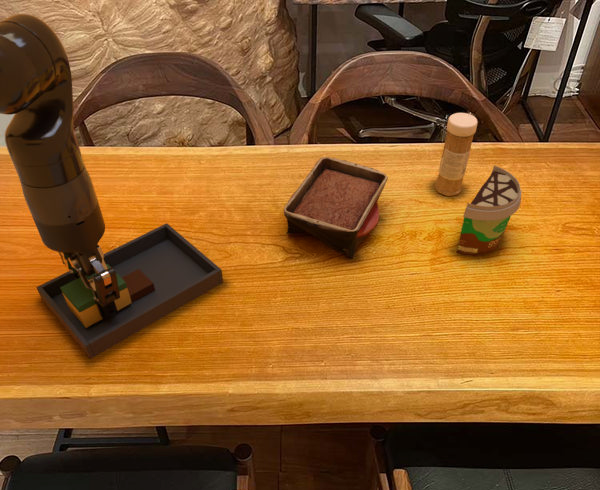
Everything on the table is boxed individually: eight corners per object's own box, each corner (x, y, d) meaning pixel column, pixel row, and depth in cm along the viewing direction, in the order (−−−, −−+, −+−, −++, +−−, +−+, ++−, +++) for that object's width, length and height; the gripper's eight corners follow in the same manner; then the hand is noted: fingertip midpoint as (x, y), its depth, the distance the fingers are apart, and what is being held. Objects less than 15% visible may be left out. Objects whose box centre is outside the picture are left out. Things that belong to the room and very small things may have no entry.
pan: (91, 361, 76) (85, 346, 73) (43, 302, 83) (35, 287, 81) (223, 285, 85) (221, 269, 83) (169, 238, 93) (166, 222, 91)
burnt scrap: (130, 303, 82) (128, 296, 81) (116, 288, 84) (114, 281, 83) (155, 290, 84) (153, 282, 83) (140, 276, 86) (138, 268, 85)
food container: (491, 272, 87) (508, 219, 80) (452, 258, 89) (466, 205, 82) (517, 228, 94) (535, 175, 87) (480, 215, 97) (495, 163, 90)
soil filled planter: (393, 223, 99) (399, 167, 93) (350, 275, 86) (354, 213, 80) (316, 205, 104) (317, 151, 98) (265, 250, 91) (263, 191, 85)
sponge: (85, 328, 78) (77, 307, 75) (68, 308, 80) (59, 287, 78) (132, 303, 81) (125, 282, 78) (114, 284, 84) (107, 263, 81)
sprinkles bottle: (444, 178, 104) (458, 108, 95) (466, 189, 102) (483, 118, 92) (429, 189, 102) (443, 118, 92) (451, 200, 100) (468, 129, 90)
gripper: (7, 189, 70) (50, 289, 82) (61, 247, 63) (100, 348, 75) (65, 165, 74) (99, 265, 86) (123, 218, 66) (151, 319, 78)
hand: (99, 303), depth 80 cm, fingers closed on sponge, 5 cm apart
